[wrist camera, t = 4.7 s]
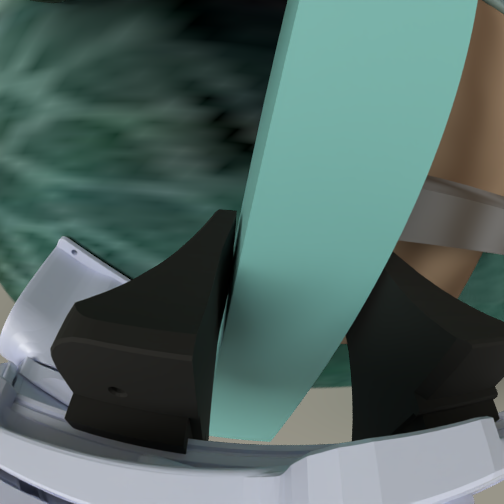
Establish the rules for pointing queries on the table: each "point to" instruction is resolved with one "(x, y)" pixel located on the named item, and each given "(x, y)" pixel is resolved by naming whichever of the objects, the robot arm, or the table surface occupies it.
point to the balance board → (464, 171)
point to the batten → (329, 190)
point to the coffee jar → (49, 1)
